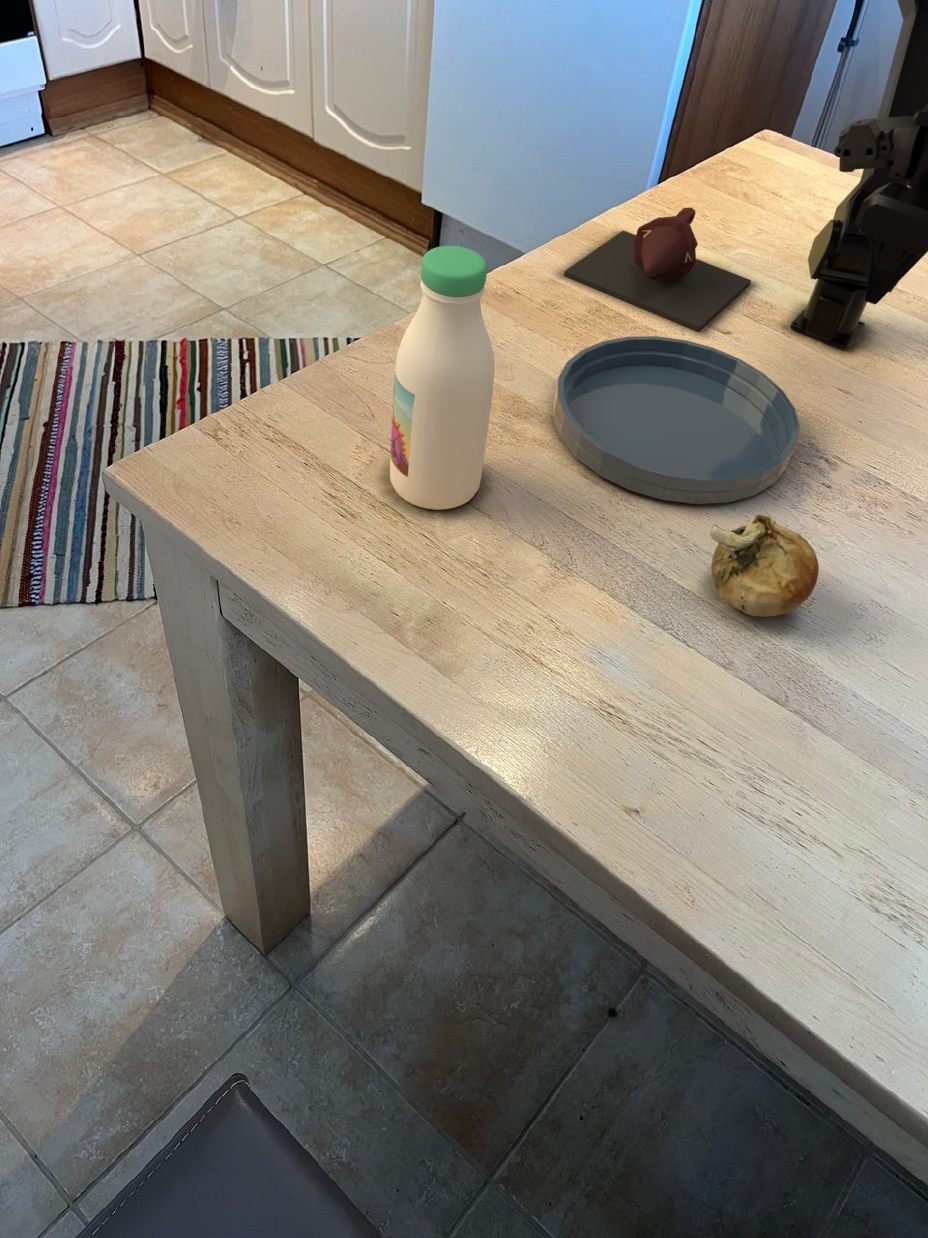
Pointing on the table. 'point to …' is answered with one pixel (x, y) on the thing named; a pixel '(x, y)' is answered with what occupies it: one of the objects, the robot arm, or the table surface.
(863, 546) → the table surface
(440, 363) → the milk bottle
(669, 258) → the dark red teardrop piece
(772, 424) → the bowl
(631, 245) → the plate
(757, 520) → the onion
